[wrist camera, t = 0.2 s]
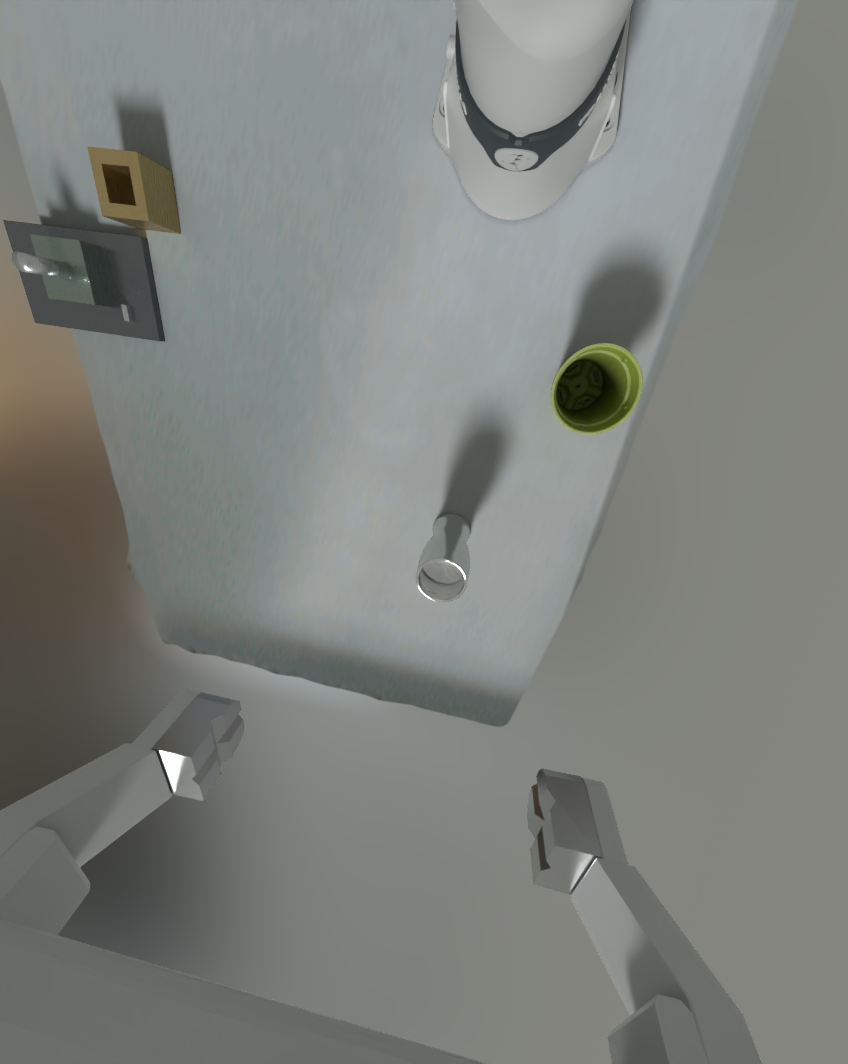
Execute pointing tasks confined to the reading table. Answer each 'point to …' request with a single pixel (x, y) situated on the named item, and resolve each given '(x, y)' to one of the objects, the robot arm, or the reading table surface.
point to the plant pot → (597, 388)
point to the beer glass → (445, 560)
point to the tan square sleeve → (135, 190)
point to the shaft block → (87, 279)
